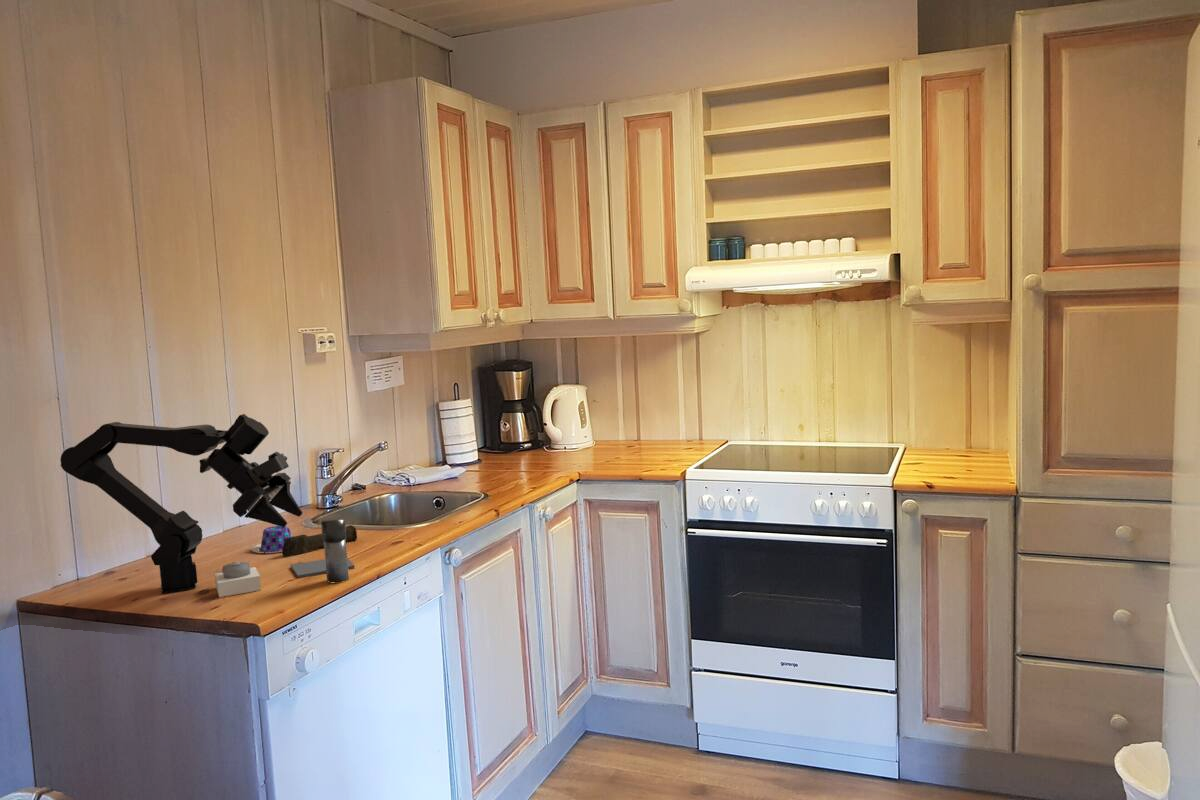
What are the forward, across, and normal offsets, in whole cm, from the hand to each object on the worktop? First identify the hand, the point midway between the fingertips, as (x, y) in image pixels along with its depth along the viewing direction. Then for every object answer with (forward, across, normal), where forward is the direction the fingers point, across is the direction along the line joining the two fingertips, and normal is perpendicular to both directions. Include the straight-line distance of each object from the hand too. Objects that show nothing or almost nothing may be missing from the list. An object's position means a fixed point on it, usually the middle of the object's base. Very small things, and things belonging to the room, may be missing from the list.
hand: (293, 520), depth 188 cm
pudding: (-1, +30, +21) cm, 37 cm away
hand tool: (+7, +27, +13) cm, 31 cm away
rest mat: (+11, +10, +8) cm, 17 cm away
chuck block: (+1, -3, +18) cm, 18 cm away
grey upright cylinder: (+15, 0, +4) cm, 16 cm away
